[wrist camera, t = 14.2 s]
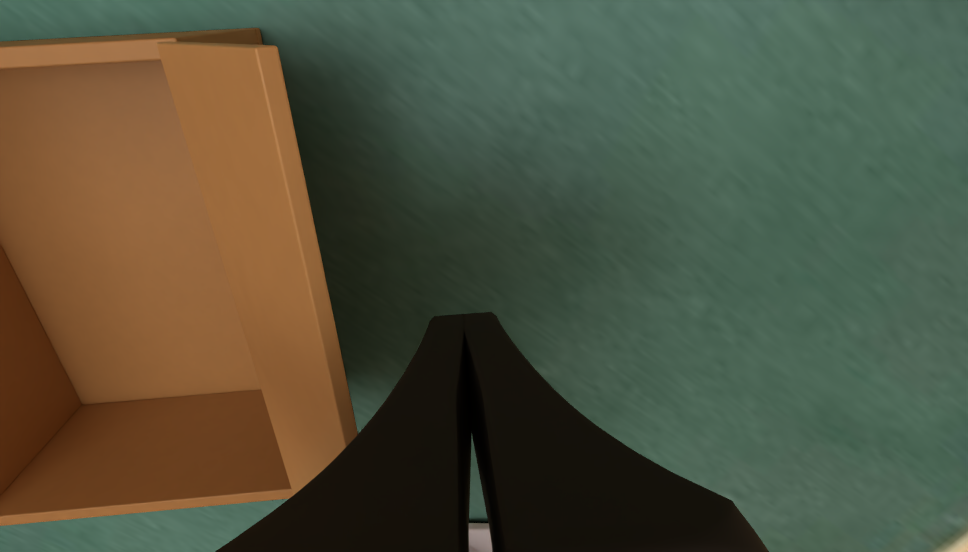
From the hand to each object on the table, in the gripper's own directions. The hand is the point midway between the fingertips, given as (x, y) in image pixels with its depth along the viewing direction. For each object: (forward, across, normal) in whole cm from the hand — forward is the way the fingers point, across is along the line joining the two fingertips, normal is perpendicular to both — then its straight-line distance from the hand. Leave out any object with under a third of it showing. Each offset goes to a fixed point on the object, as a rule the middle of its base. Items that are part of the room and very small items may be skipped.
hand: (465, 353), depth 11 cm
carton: (+8, +10, 0) cm, 13 cm away
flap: (0, +4, 0) cm, 4 cm away
